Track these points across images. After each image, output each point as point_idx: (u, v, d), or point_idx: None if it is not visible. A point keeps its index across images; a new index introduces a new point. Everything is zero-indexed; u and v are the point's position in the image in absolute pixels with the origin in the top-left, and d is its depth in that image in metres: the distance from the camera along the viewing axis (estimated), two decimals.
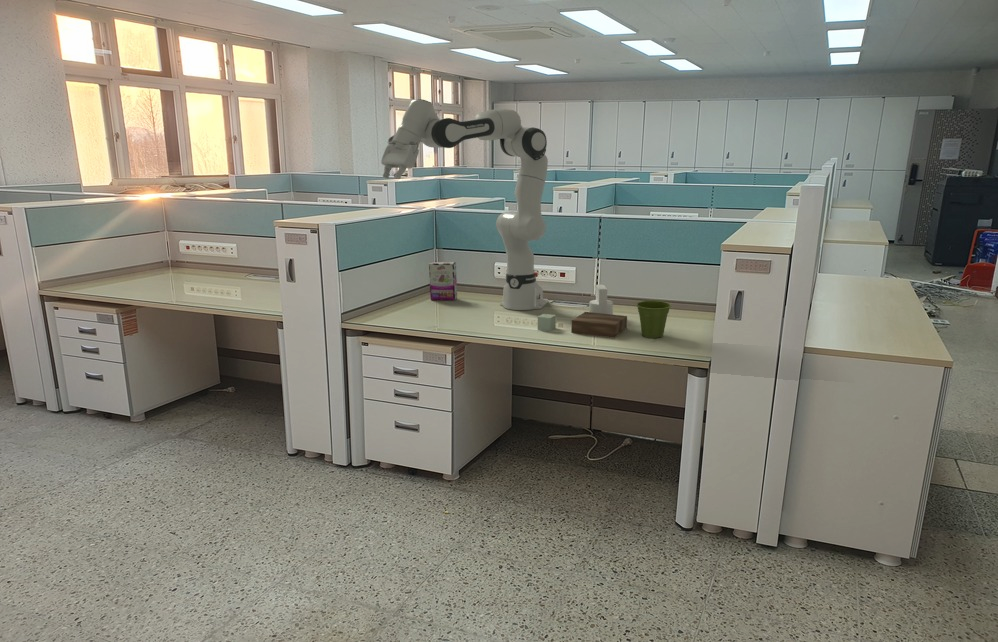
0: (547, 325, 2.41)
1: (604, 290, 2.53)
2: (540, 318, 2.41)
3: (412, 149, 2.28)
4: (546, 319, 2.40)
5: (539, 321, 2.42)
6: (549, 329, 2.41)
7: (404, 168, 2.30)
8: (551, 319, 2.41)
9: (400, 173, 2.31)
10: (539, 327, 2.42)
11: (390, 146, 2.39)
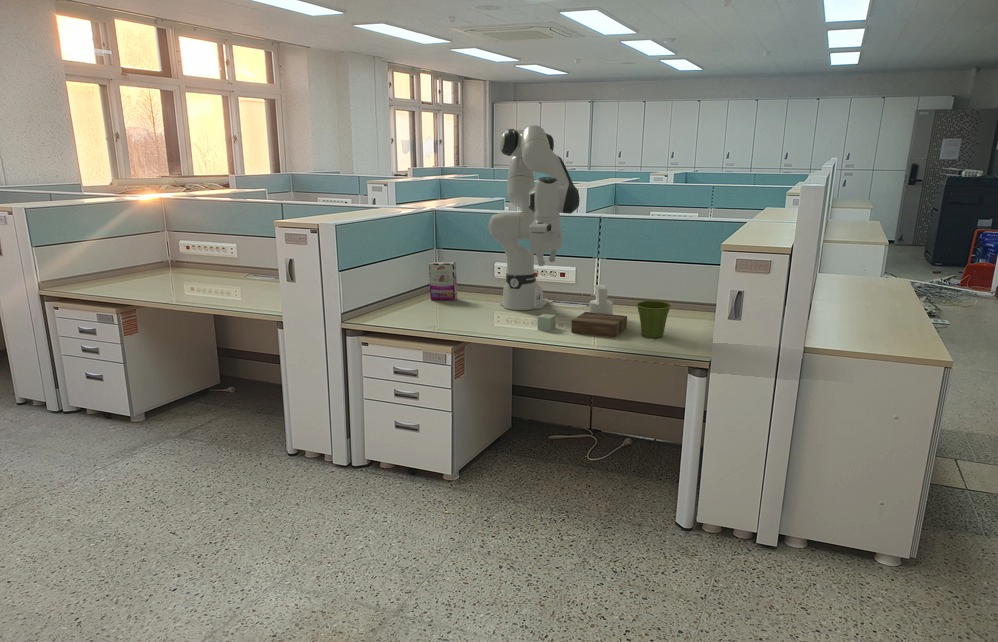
0: (547, 325, 2.41)
1: (604, 290, 2.53)
2: (540, 318, 2.41)
3: None
4: (546, 319, 2.40)
5: (539, 321, 2.42)
6: (549, 329, 2.41)
7: None
8: (551, 319, 2.41)
9: None
10: (539, 327, 2.42)
11: (547, 235, 2.30)
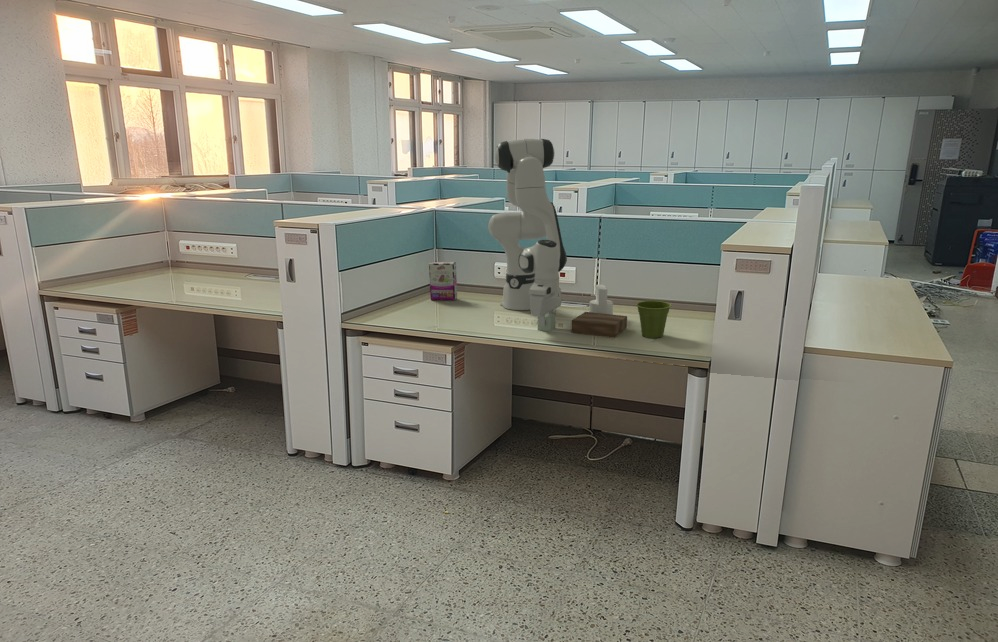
0: (547, 325, 2.41)
1: (604, 290, 2.53)
2: None
3: None
4: (546, 319, 2.40)
5: (539, 321, 2.42)
6: (549, 329, 2.41)
7: None
8: (551, 319, 2.41)
9: None
10: (539, 327, 2.42)
11: (547, 297, 2.35)
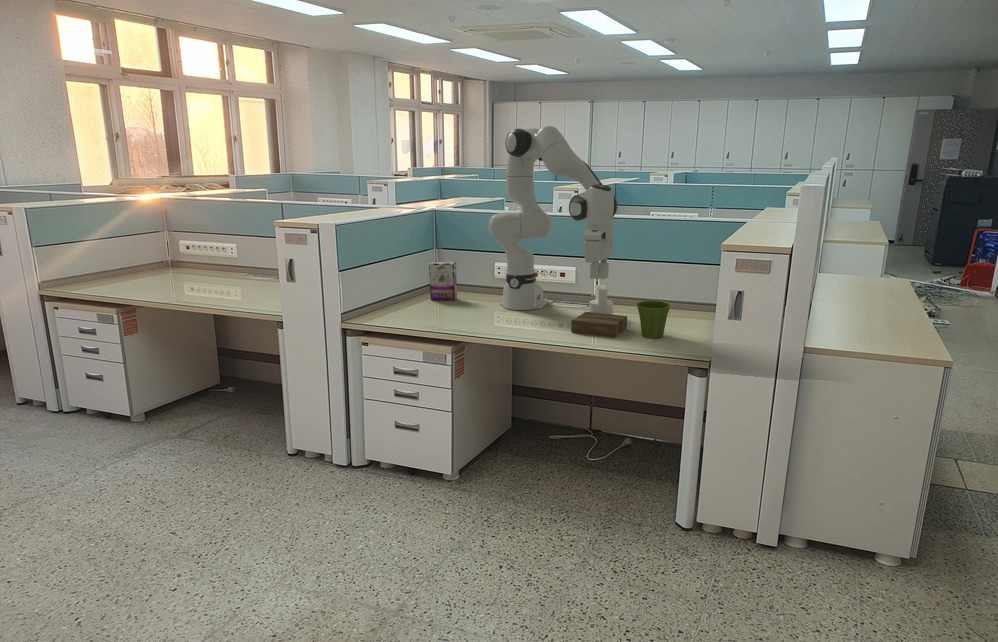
0: (600, 273, 2.33)
1: (604, 290, 2.53)
2: None
3: None
4: (599, 266, 2.33)
5: (591, 269, 2.34)
6: (602, 277, 2.33)
7: None
8: (604, 266, 2.33)
9: None
10: (592, 275, 2.35)
11: (601, 243, 2.27)
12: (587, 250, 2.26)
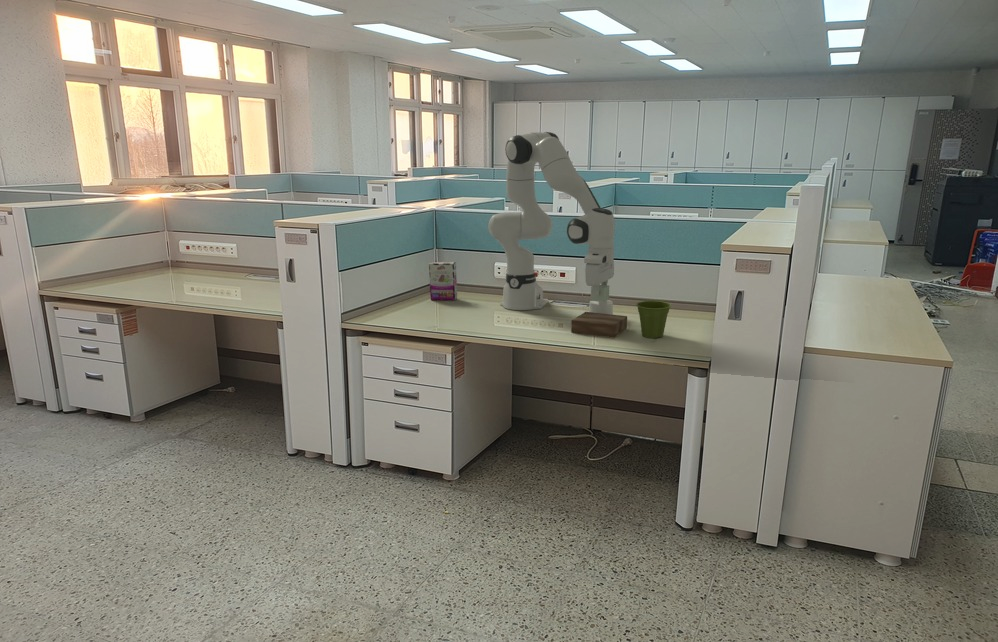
0: (601, 295, 2.35)
1: None
2: None
3: None
4: (600, 289, 2.34)
5: (592, 291, 2.36)
6: (603, 299, 2.35)
7: None
8: (605, 289, 2.35)
9: None
10: (592, 298, 2.36)
11: (602, 266, 2.29)
12: (588, 274, 2.27)
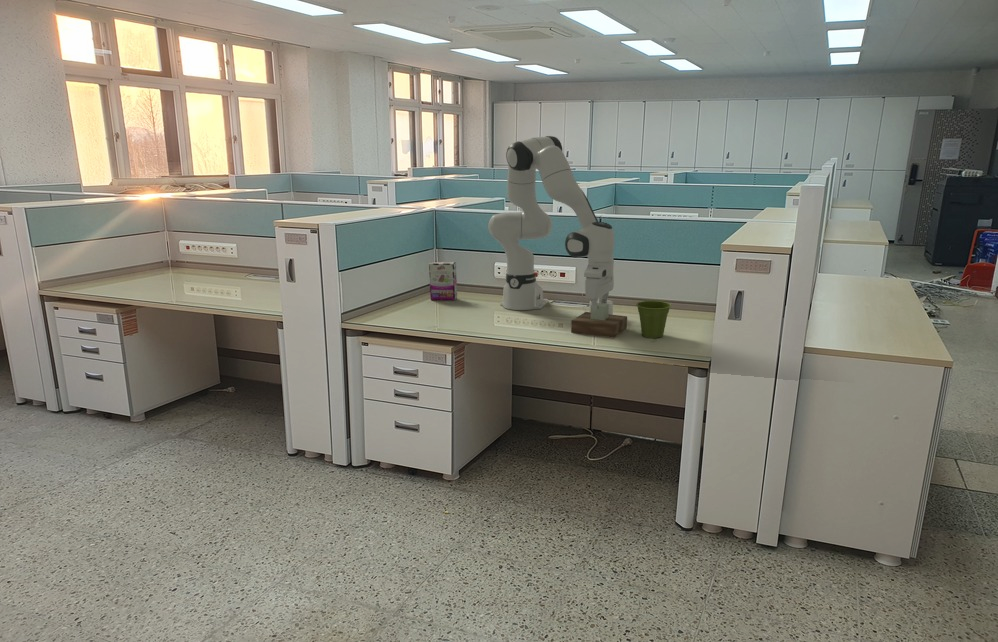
0: (601, 314, 2.37)
1: None
2: None
3: None
4: (600, 308, 2.36)
5: (592, 310, 2.38)
6: (603, 318, 2.37)
7: None
8: (605, 308, 2.37)
9: None
10: (592, 316, 2.38)
11: (602, 280, 2.30)
12: (588, 287, 2.29)
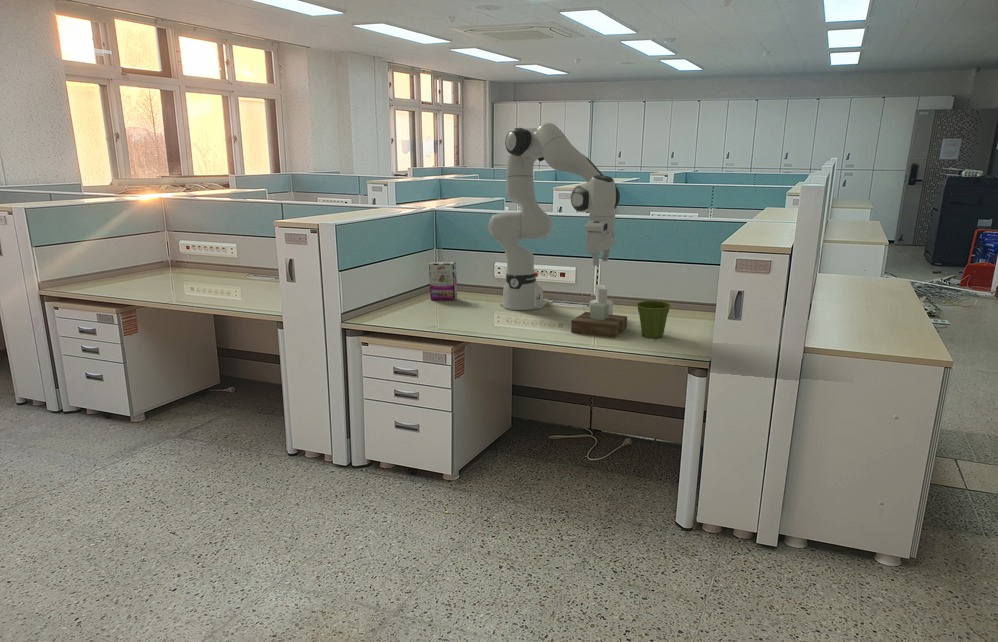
0: (600, 314, 2.37)
1: (604, 290, 2.53)
2: (593, 306, 2.38)
3: None
4: (599, 308, 2.37)
5: (592, 310, 2.38)
6: (602, 318, 2.37)
7: None
8: (604, 308, 2.37)
9: None
10: (592, 316, 2.39)
11: (603, 234, 2.26)
12: (589, 241, 2.25)
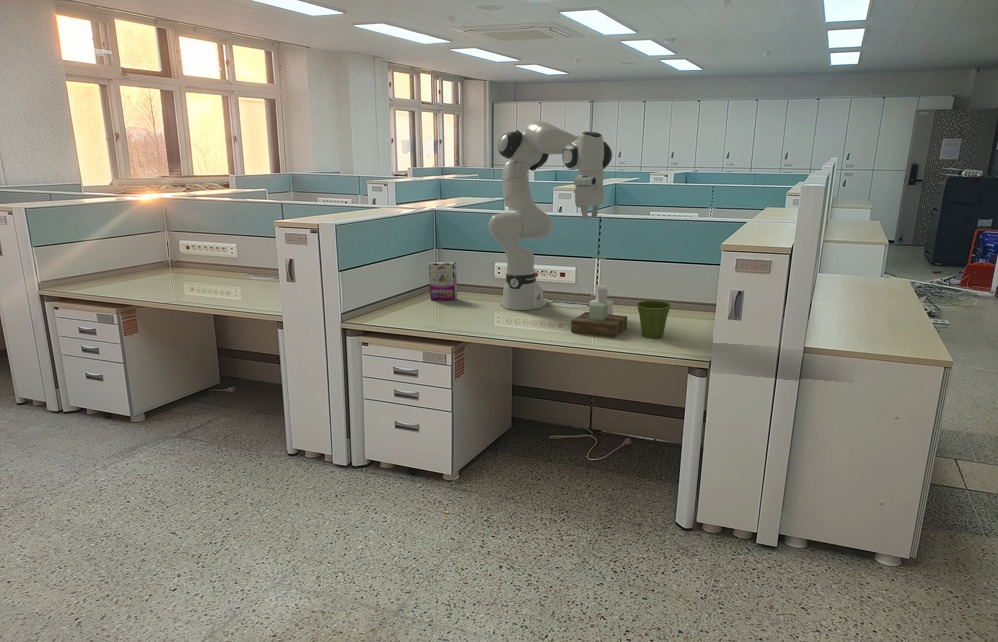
0: (599, 314, 2.37)
1: (604, 290, 2.53)
2: (592, 306, 2.37)
3: None
4: (598, 308, 2.36)
5: (591, 310, 2.38)
6: (601, 318, 2.37)
7: None
8: (604, 308, 2.37)
9: None
10: (591, 316, 2.38)
11: (591, 188, 2.32)
12: (577, 195, 2.30)
